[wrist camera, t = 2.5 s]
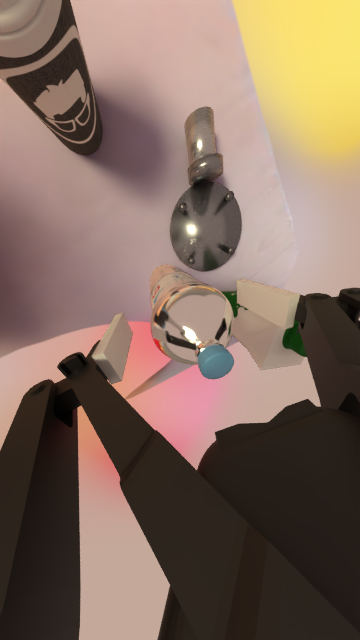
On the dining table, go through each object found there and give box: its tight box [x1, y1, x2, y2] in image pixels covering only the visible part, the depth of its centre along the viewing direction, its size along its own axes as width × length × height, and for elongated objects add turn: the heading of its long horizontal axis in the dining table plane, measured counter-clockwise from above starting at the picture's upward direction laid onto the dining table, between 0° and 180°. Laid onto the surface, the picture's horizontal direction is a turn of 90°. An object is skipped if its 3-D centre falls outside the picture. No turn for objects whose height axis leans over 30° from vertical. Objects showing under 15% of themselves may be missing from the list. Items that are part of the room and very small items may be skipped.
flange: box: [170, 107, 242, 271], centre depth 23 cm, size 14×20×5 cm
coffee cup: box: [0, 0, 103, 155], centre depth 11 cm, size 10×10×15 cm
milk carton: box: [221, 292, 307, 370], centre depth 26 cm, size 9×9×20 cm
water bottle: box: [150, 265, 234, 379], centre depth 18 cm, size 7×7×25 cm
